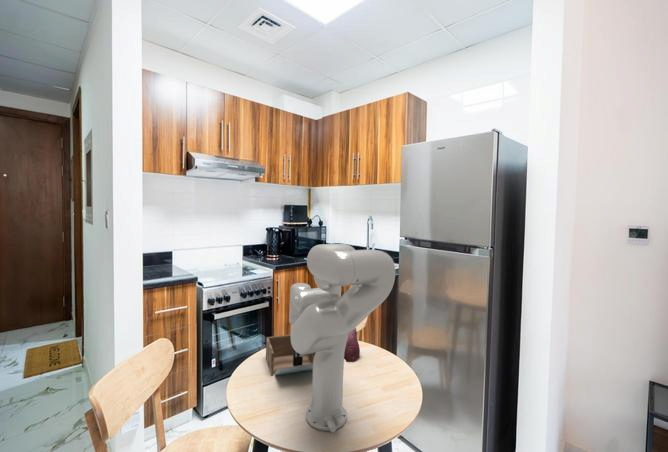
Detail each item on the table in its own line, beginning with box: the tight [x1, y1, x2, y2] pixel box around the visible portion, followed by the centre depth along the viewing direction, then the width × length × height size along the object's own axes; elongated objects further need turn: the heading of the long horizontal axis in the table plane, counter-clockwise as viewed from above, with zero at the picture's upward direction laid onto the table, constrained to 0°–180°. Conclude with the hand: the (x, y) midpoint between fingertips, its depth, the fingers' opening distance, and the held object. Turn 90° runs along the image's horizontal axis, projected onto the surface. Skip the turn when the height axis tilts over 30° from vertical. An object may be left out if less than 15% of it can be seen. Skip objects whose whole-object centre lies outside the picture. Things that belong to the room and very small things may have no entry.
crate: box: [265, 334, 316, 377], centre depth 125 cm, size 15×18×10 cm
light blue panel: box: [274, 364, 313, 376], centre depth 114 cm, size 1×15×11 cm
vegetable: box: [344, 327, 361, 363], centre depth 135 cm, size 10×10×15 cm
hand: (297, 365), depth 113 cm, fingers closed
